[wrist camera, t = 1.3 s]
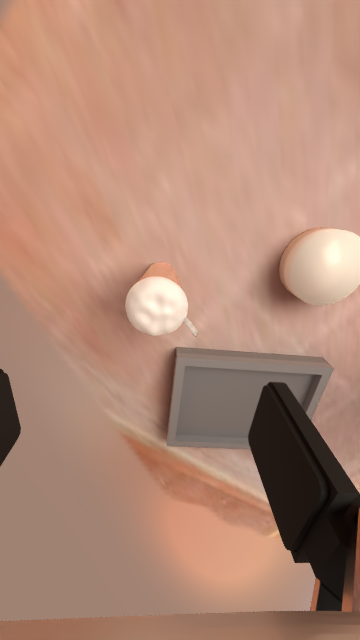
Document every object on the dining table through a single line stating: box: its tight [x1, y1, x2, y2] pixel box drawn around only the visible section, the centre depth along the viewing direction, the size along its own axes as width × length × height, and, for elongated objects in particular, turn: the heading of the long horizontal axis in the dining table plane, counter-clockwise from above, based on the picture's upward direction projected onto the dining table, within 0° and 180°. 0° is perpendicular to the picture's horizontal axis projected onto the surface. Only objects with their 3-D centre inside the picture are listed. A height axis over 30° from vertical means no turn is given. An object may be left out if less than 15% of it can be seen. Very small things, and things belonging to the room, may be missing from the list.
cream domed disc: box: [279, 227, 360, 306], centre depth 24 cm, size 7×7×3 cm
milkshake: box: [125, 262, 198, 337], centre depth 21 cm, size 4×5×10 cm
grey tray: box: [167, 347, 334, 449], centre depth 31 cm, size 18×14×2 cm
